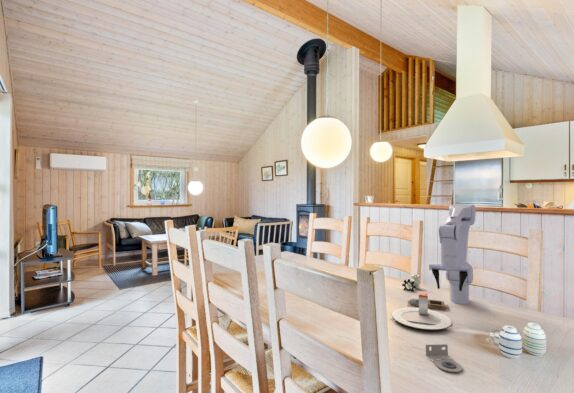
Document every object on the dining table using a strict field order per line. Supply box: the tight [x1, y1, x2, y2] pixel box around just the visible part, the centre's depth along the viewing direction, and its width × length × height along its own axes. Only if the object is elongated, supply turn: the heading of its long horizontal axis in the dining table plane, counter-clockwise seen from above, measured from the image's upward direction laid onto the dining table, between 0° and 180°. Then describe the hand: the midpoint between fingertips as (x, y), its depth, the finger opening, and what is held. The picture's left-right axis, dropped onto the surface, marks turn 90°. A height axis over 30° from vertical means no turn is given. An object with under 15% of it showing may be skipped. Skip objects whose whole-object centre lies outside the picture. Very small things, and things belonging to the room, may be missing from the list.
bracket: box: [425, 343, 463, 373], centre depth 88 cm, size 7×10×4 cm, turn 2°
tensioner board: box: [407, 298, 451, 312], centre depth 131 cm, size 8×16×3 cm, turn 68°
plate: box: [391, 307, 452, 331], centre depth 118 cm, size 21×21×2 cm
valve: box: [401, 274, 421, 292], centre depth 157 cm, size 7×7×12 cm
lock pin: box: [418, 292, 429, 316], centre depth 122 cm, size 3×3×7 cm
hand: (449, 289), depth 123 cm, fingers open, 7 cm apart
